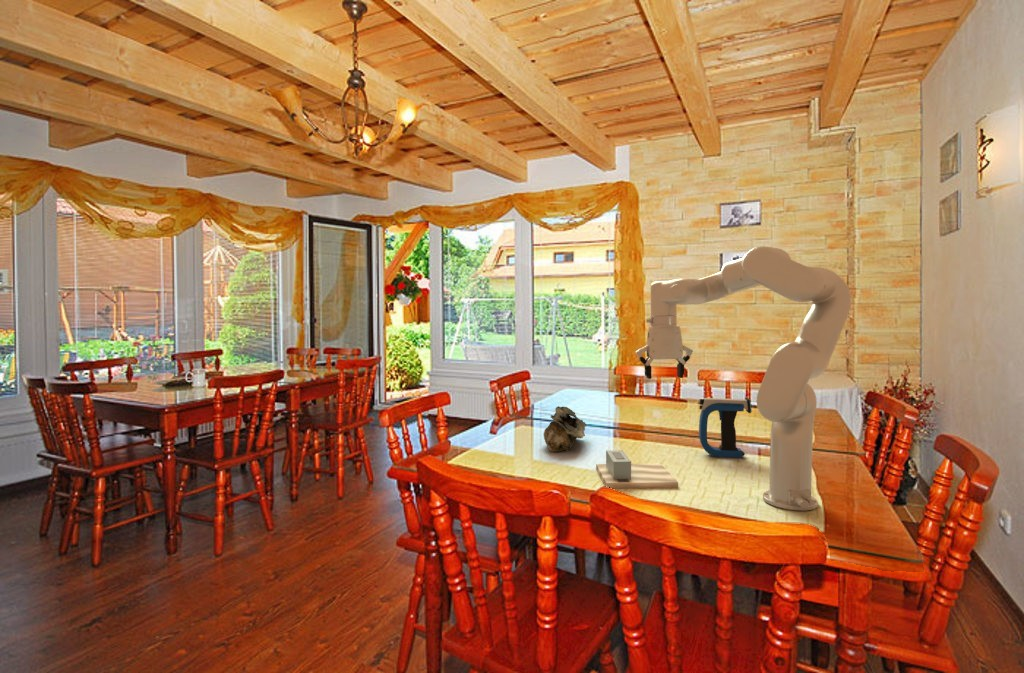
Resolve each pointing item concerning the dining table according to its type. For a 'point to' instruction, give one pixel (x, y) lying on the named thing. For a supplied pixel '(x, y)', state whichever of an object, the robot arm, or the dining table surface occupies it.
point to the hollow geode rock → (563, 430)
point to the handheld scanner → (722, 425)
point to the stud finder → (618, 464)
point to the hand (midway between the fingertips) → (664, 377)
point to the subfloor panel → (640, 477)
